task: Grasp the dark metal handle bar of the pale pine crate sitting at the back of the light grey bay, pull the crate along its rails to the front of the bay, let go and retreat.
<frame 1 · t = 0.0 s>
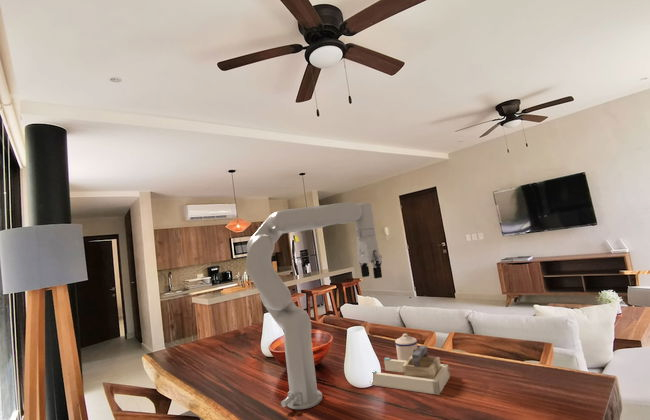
hand: (371, 277, 130), 37 cm above the table, tool pointing down, fingers open, 9 cm apart
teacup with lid: (410, 362, 136), on the table
bay: (410, 383, 117), on the table
crate: (421, 366, 114), point 6 cm above the table, slide at 0.0 cm
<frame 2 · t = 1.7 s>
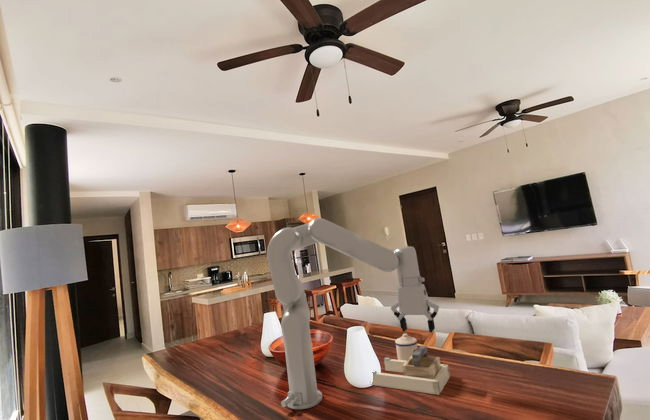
hand: (418, 330, 116), 18 cm above the table, tool pointing down, fingers open, 9 cm apart
nothing on the table moved.
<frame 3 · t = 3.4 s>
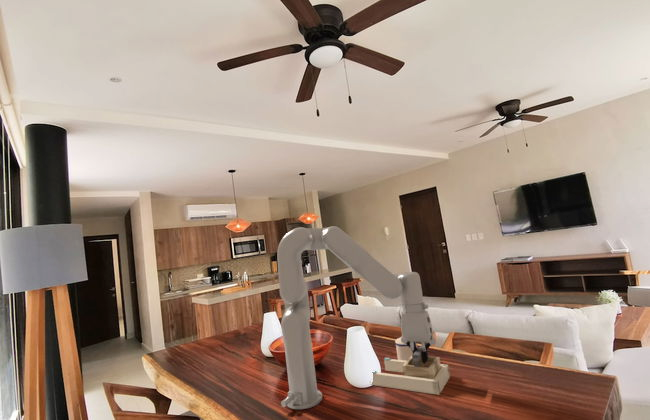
hand: (421, 361, 115), 8 cm above the table, tool pointing down, fingers closed on crate, 2 cm apart
crate: (421, 366, 114), point 7 cm above the table, slide at 0.0 cm, touching gripper
everything else where it was.
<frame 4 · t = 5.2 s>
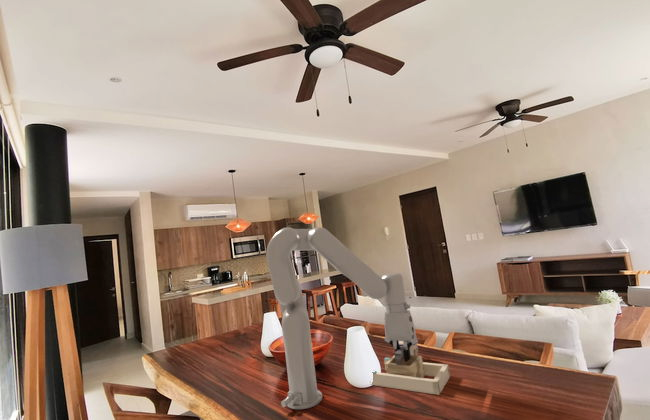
hand: (403, 359, 118), 8 cm above the table, tool pointing down, fingers closed on crate, 2 cm apart
crate: (404, 364, 118), point 7 cm above the table, slide at 6.4 cm, touching gripper
everything else where it was.
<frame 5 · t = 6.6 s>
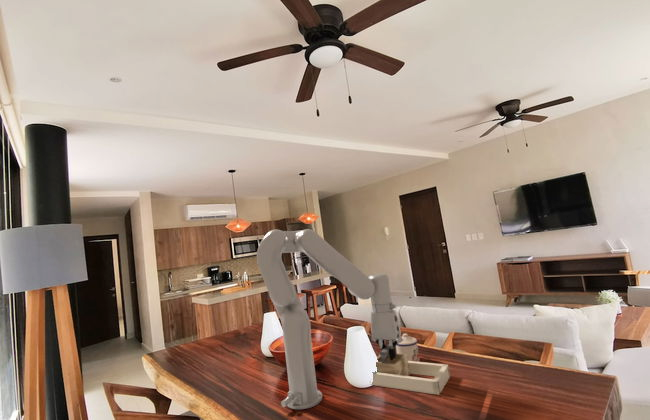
hand: (389, 358, 121), 8 cm above the table, tool pointing down, fingers closed on crate, 2 cm apart
crate: (389, 362, 121), point 6 cm above the table, slide at 12.0 cm, touching gripper
everything else where it was.
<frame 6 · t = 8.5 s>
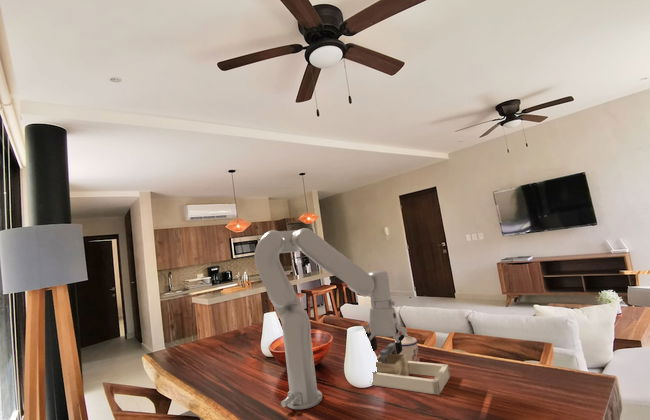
hand: (386, 351, 121), 11 cm above the table, tool pointing down, fingers open, 9 cm apart
crate: (389, 362, 121), point 6 cm above the table, slide at 12.0 cm
everything else where it was.
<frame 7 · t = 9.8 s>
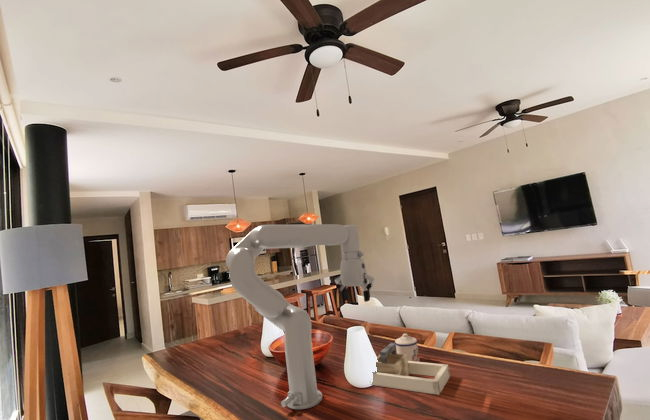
hand: (356, 300, 128), 29 cm above the table, tool pointing down, fingers open, 9 cm apart
nothing on the table moved.
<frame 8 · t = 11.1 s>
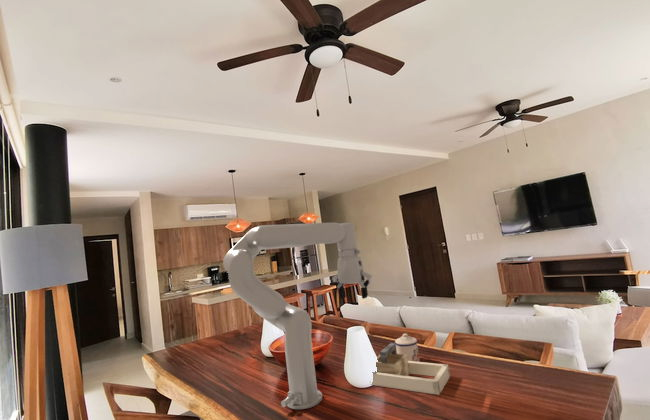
hand: (353, 298, 128), 30 cm above the table, tool pointing down, fingers open, 9 cm apart
nothing on the table moved.
at the end: crate slide at 12.0 cm; the gripper is holding nothing; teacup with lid moved 0.2 cm from its start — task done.
